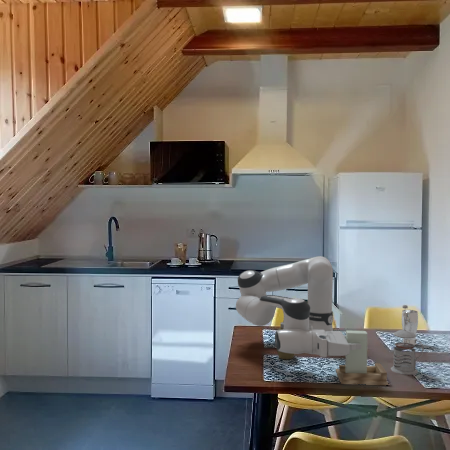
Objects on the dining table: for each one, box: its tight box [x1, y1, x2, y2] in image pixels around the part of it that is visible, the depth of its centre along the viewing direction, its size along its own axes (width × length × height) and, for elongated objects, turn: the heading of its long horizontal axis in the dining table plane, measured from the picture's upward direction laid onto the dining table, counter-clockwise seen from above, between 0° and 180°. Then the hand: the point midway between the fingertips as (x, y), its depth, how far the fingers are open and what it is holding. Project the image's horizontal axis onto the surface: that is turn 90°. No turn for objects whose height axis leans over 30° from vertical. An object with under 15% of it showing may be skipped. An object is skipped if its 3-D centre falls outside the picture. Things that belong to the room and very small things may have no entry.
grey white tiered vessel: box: [390, 304, 425, 376], centre depth 181 cm, size 10×12×25 cm
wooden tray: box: [335, 363, 389, 386], centre depth 173 cm, size 16×13×4 cm
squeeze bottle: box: [276, 319, 295, 360], centre depth 197 cm, size 8×8×18 cm
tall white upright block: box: [344, 330, 368, 373], centre depth 172 cm, size 7×4×16 cm, turn 84°
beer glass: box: [401, 309, 419, 346], centre depth 217 cm, size 7×7×15 cm
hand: (358, 342), depth 172 cm, fingers open, 7 cm apart
